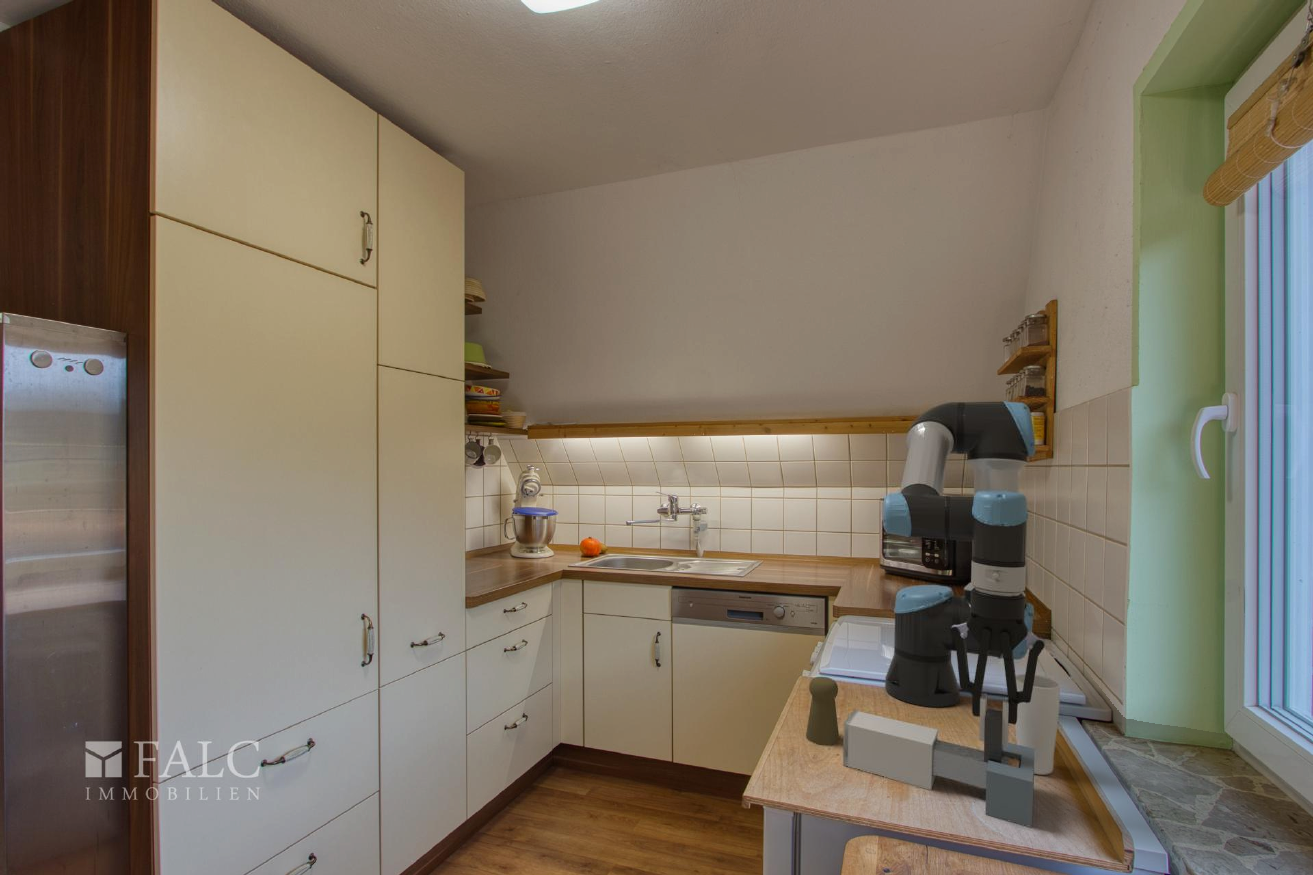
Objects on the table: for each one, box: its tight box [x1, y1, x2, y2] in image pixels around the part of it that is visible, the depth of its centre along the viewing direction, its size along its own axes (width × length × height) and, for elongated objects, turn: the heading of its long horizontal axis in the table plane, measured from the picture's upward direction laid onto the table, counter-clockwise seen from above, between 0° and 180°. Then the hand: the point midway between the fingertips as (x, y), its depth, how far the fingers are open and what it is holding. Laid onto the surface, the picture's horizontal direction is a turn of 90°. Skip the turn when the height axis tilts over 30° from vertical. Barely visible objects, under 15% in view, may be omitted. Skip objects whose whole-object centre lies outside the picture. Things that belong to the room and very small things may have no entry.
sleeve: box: [842, 709, 939, 791], centre depth 111 cm, size 6×14×7 cm, turn 59°
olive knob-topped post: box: [805, 676, 840, 746], centre depth 122 cm, size 6×6×11 cm
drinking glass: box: [1014, 673, 1061, 776], centre depth 112 cm, size 7×7×15 cm
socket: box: [985, 742, 1035, 827], centre depth 101 cm, size 12×6×7 cm, turn 149°
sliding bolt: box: [932, 707, 1020, 789], centre depth 105 cm, size 4×18×11 cm, turn 59°
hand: (993, 739), depth 102 cm, fingers closed on sliding bolt, 2 cm apart
